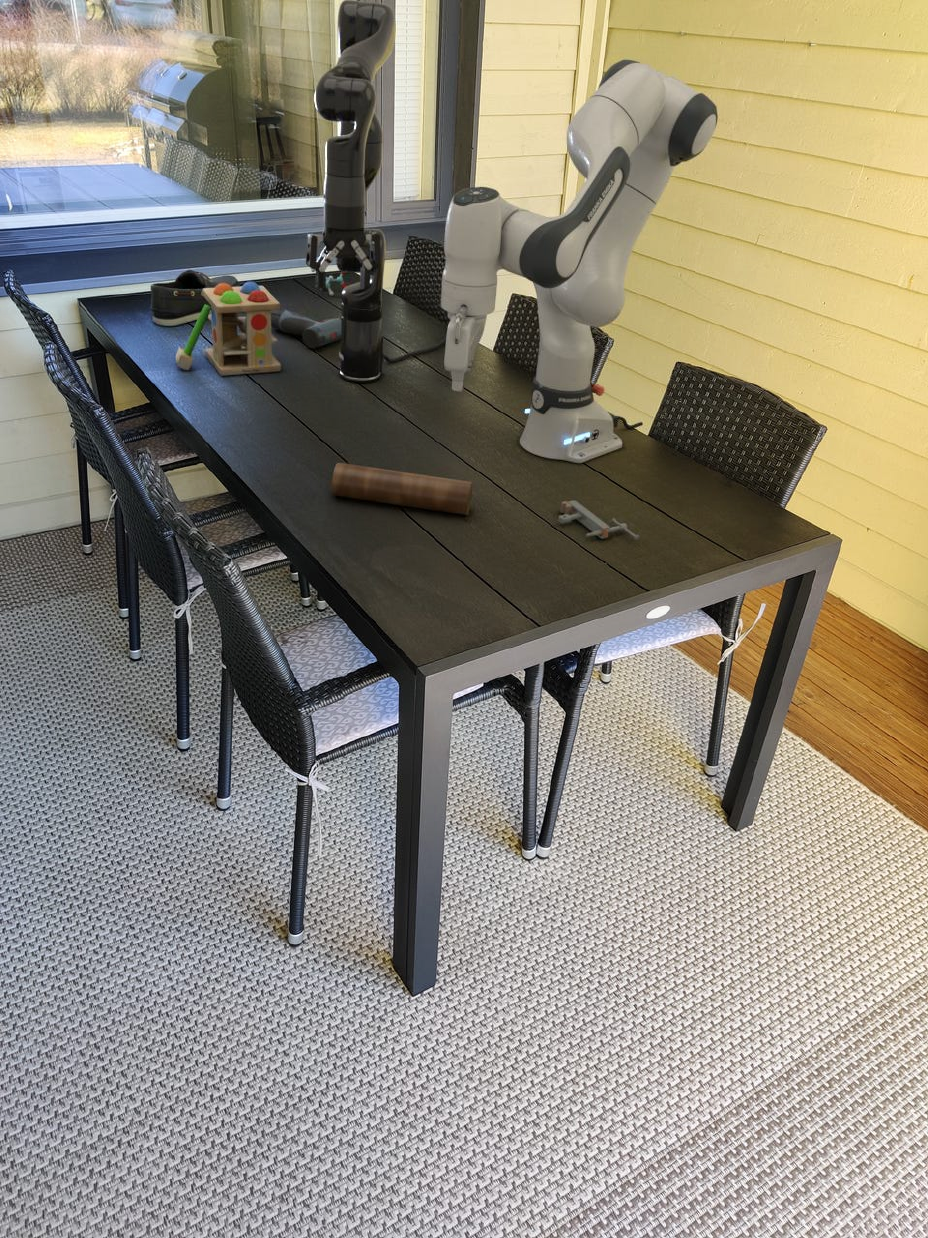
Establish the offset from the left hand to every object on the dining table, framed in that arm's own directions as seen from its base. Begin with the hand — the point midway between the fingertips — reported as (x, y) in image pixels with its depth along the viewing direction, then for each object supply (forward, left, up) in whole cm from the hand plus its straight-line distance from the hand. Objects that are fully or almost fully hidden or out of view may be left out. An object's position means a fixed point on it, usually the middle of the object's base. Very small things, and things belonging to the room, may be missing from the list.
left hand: (343, 289), depth 189 cm
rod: (+18, +29, -29) cm, 45 cm away
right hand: (+14, +37, -4) cm, 40 cm away
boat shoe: (-34, -76, -29) cm, 88 cm away
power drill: (-42, -44, -29) cm, 67 cm away
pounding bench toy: (-10, -43, -29) cm, 53 cm away
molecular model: (-74, -64, -29) cm, 102 cm away
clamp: (+3, +61, -29) cm, 67 cm away
